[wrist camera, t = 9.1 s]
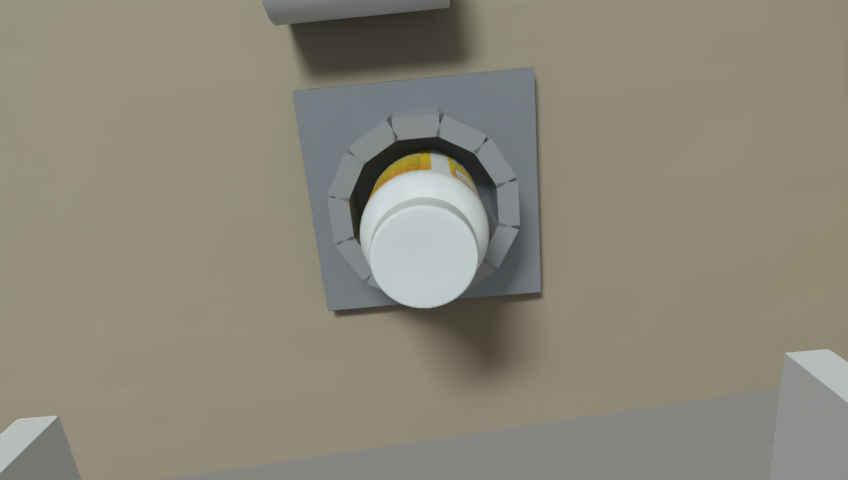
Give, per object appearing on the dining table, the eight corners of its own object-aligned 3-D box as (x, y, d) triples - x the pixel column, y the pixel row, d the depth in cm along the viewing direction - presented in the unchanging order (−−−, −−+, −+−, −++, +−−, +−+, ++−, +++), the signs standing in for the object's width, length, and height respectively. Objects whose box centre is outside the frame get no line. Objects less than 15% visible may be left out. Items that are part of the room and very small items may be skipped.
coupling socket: (330, 304, 32) (318, 335, 28) (296, 90, 28) (277, 94, 24) (538, 286, 31) (553, 315, 28) (531, 67, 28) (547, 68, 24)
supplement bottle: (488, 162, 28) (520, 210, 19) (458, 256, 30) (474, 341, 21) (387, 134, 28) (371, 168, 19) (362, 231, 30) (336, 306, 20)
